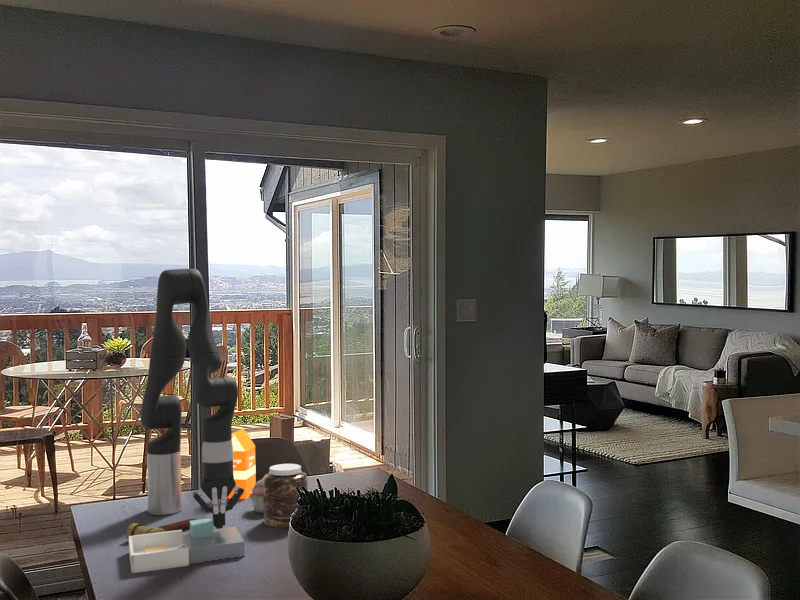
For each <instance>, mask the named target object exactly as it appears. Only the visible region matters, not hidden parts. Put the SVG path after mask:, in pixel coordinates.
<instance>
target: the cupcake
mask: <svg viewBox="0 0 800 600" xmlns="http://www.w3.org/2000/svg"><path fill="white" fill-rule="evenodd" d="M263 483H264V476H263V477H262V479H260V480H258V481H256V483H255V486H254V487H253V488H252V493H250V496H249V498H250V500H251V502H252V505H253V510H254V512H256V513H259V514H264V504H263Z"/></svg>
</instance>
